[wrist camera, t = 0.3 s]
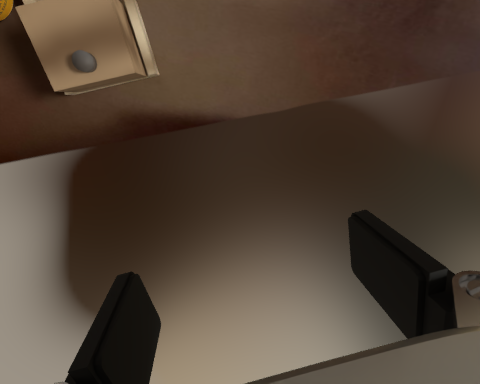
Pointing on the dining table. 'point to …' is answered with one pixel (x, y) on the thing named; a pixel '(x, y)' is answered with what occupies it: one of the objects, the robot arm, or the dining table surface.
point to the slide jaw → (83, 43)
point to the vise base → (140, 38)
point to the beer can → (5, 8)
